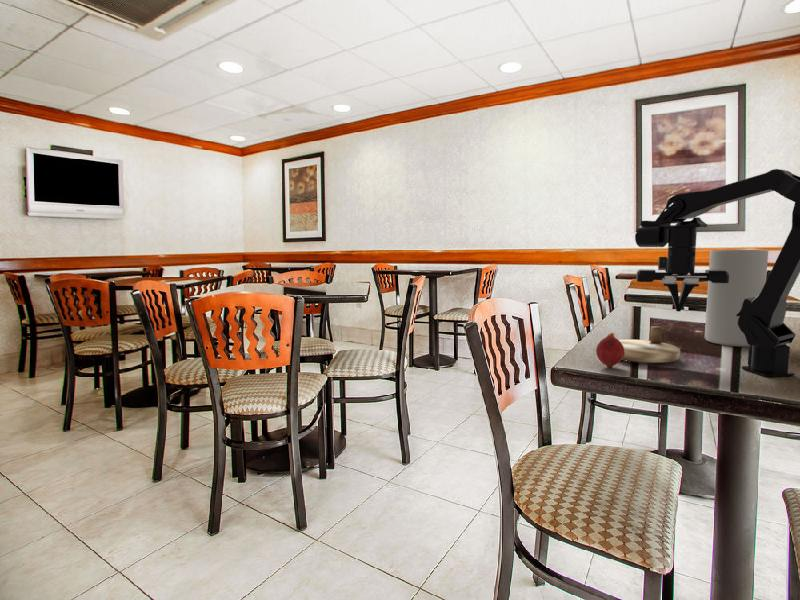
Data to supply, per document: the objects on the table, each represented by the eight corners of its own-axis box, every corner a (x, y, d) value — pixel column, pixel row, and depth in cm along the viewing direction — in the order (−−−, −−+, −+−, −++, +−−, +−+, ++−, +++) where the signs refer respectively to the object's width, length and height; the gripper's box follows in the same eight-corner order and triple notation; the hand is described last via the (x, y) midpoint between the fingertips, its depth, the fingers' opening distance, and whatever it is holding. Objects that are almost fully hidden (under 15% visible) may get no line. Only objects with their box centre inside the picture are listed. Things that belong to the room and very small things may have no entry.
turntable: (658, 366, 100) (660, 340, 100) (592, 352, 114) (593, 329, 113) (692, 354, 110) (693, 331, 109) (627, 343, 123) (628, 322, 122)
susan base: (681, 362, 106) (681, 360, 106) (632, 365, 105) (632, 362, 105) (649, 350, 118) (649, 348, 118) (604, 352, 117) (604, 350, 117)
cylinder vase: (703, 335, 134) (708, 250, 130) (757, 339, 127) (764, 249, 124) (705, 344, 123) (711, 251, 120) (764, 349, 117) (772, 251, 113)
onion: (620, 372, 100) (621, 336, 99) (592, 368, 103) (593, 333, 102) (626, 366, 104) (627, 331, 103) (599, 362, 108) (600, 329, 107)
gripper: (721, 246, 113) (717, 308, 115) (636, 247, 121) (634, 305, 123) (731, 246, 103) (726, 315, 105) (638, 248, 111) (636, 311, 113)
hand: (678, 311), depth 112 cm, fingers closed
